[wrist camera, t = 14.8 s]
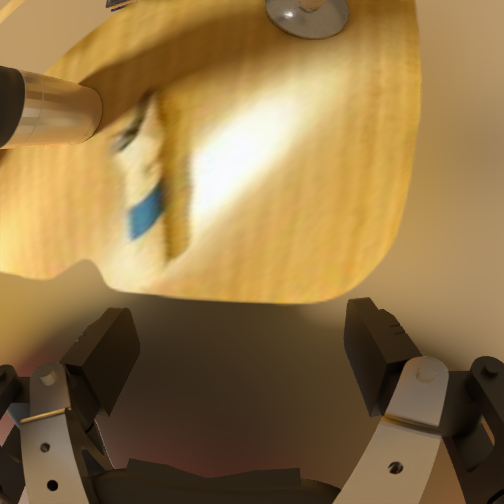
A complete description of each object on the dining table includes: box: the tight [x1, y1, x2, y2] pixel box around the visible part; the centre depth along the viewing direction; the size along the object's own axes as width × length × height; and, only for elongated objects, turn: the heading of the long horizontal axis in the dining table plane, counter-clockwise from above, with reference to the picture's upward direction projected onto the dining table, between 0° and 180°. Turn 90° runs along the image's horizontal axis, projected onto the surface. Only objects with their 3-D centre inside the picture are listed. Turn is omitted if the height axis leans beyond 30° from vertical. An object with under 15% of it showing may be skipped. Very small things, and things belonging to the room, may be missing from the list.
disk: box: [265, 0, 349, 40], centre depth 28 cm, size 12×12×1 cm
